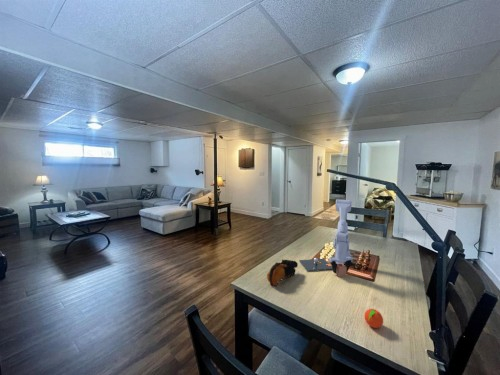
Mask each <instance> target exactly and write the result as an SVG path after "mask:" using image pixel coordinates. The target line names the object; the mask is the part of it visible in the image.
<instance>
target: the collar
mask: <svg viewBox="0 0 500 375" xmlns="http://www.w3.org/2000/svg"><path fill="white" fill-rule="evenodd" d="M336 264H338V265H337V268H336V273H334V275H336V276H337V277H338V278H340V277H347V273H346V271H347V267H346V266H345V265H344V264H343V263H336Z"/></svg>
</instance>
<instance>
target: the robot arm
mask: <svg viewBox="0 0 500 375" xmlns="http://www.w3.org/2000/svg"><path fill="white" fill-rule="evenodd" d="M352 205H353V201H352V200H351V199H350V200H349V199H338V198H336V200H335V211H336V212H338V214H339V221H338V222H337V231H336V236H335V237H334V238H333V249H335V252H334V254H335V255H334V257H333V256H332V257H329V259H328V261H329V264H330V265H331V266H332V268H333V270H332V272H333V273H334V274H335V273H336V268H337V265H338V264H336V263H343V264H345V266H346V267H347V271H346V274H347V273H348V272H349V269H350V267H351V266H352V265H353V260H354V258H353V257H352V255H351V251H350V239H349V231H348V225H349V224H348V222H347V214H348V213H350V212H351V211H352Z"/></svg>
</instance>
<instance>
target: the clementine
mask: <svg viewBox="0 0 500 375" xmlns="http://www.w3.org/2000/svg"><path fill="white" fill-rule="evenodd" d="M364 320H365V322H366V324H367V325H369V327H371V328H373V329H378V328H381V327H382V326H383V324H384V317H383V315H382V314H381V312H379V311H378V310H377V309H374V308H369V309H367V310H365V312H364Z"/></svg>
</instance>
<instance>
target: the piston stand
mask: <svg viewBox="0 0 500 375" xmlns="http://www.w3.org/2000/svg"><path fill="white" fill-rule="evenodd" d="M313 260H314V261H313ZM318 261H319V262H321V263H318ZM298 262H299V263H300V264H301V266H302V267H303V268H304V270H305V271H306V272H318V271H333V268H332V265H331V266H328V265H326V264H330V262H329V263H328V261H327V260H326V259H325V258H318V257H314V259H313V258H312V259H299V260H298Z"/></svg>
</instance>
